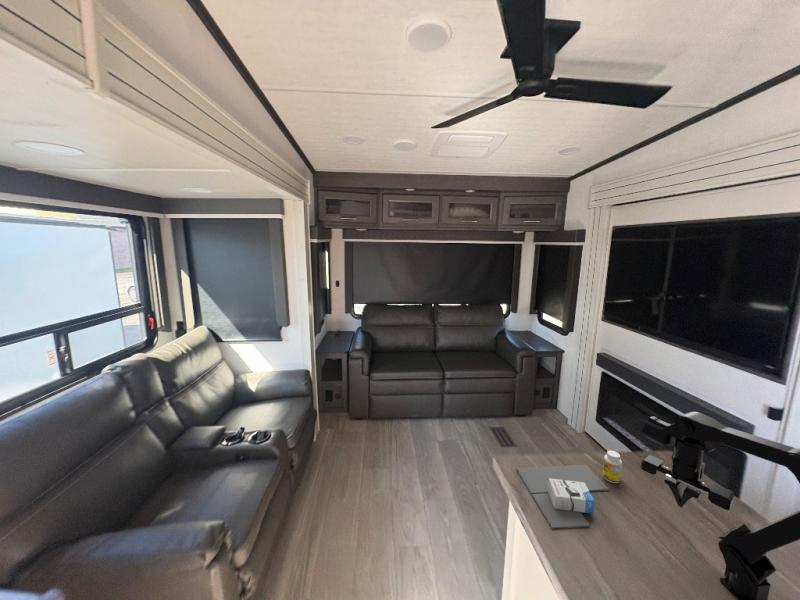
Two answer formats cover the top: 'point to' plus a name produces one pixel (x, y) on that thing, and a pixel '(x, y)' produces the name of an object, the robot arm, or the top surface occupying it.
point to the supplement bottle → (612, 467)
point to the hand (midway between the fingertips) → (680, 506)
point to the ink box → (570, 496)
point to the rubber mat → (538, 488)
